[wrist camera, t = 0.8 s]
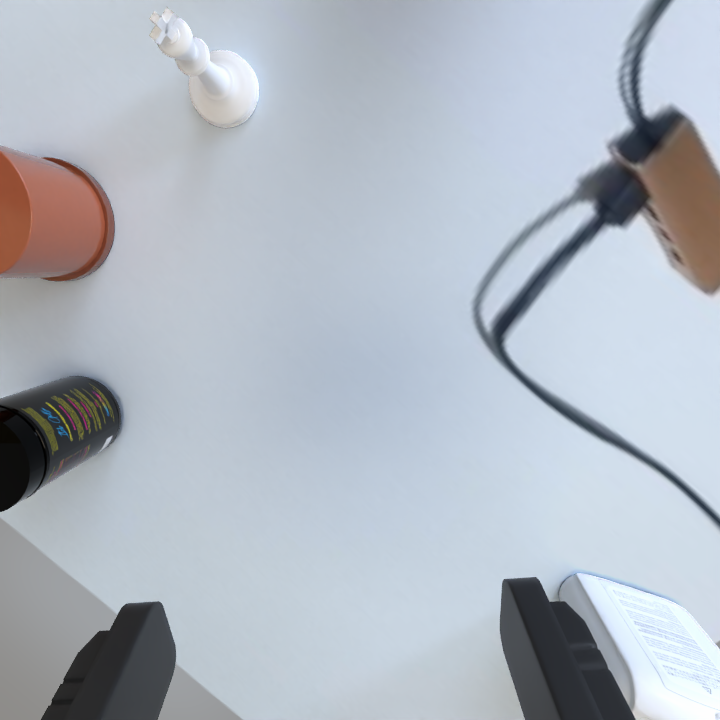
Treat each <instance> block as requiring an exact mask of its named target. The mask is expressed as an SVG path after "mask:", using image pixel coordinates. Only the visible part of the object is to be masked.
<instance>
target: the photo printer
mask: <svg viewBox="0 0 720 720" xmlns="http://www.w3.org/2000/svg"><path fill="white" fill-rule="evenodd" d="M559 599H560V601H565V602H566V603H567V604H568V605H569V606H570V607H571V608H572V609H573V610H574V611H575V612H576V613H577V614H578V615H579V616H580V617H581V618H582V619H583V620H584V621H585V622H586V624H587V626H588V628H589V630H590V632H591V634H592V636H593V638H594V640H595V642H596V644H597V647H598V650H600V651H601V653H602V655H603V657H604V659H605V661H606V663H607V665H608V669H609V670H610V671H611V672H612V674H613V676H614V678H615V680H616V682H617V684H618V686H619V688H620V690H621V692H622V694H623V696H624V698H625V699H626V701H627V703H628V705H629V707H630V709H631V711H632V713H633V715H634V717H635V719H636V720H720V649H719V648H718V647H717V645H716V644H715V643H714V642H713V641H712V640H711V638H710V637H709V636H708V635H707V634H706V632H705V631H704V630H703V629H702V627H701V626H700V625H699V624H698V623H697V621H696V620H695V619H694V618H693V617H692V615H691V614H690V613H689V612H688V611H687V610H685V609H684V608H683V607H681V606H680V605H678V604H676V603H674V602H672V601H669V600H667V599H664V598H661V597H658V596H655V595H652V594H649V593H646V592H643V591H640V590H637V589H634V588H631V587H628V586H625V585H622V584H619V583H616V582H612V581H609V580H606V579H603V578H599V577H595V576H592V575H587V574H582V573H576V574H575V576H570V577H569V578H568V579H566V580H565V581H564V583H563V584H562V586H561V588H560V591H559Z"/></svg>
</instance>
